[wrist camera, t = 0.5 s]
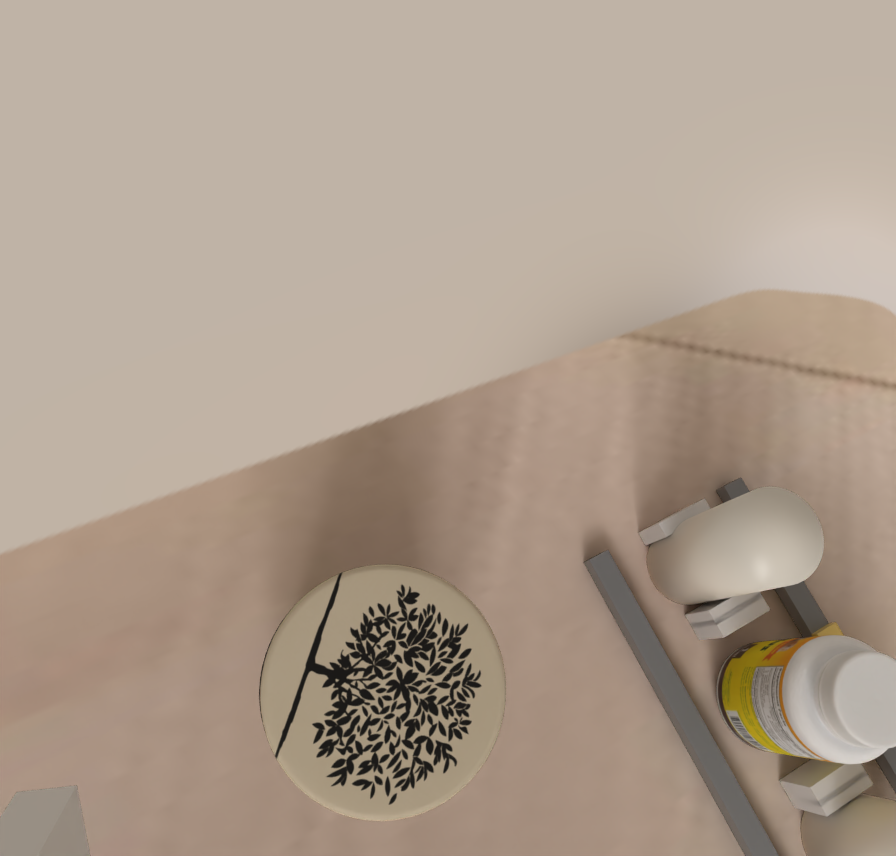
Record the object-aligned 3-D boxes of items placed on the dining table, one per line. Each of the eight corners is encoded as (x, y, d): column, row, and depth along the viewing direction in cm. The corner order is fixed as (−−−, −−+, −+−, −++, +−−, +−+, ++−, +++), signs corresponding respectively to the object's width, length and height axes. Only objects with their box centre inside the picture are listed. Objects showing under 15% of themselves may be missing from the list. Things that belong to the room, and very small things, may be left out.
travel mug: (465, 646, 44) (555, 625, 27) (395, 797, 42) (446, 880, 25) (327, 576, 44) (331, 512, 27) (250, 723, 42) (199, 755, 25)
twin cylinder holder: (943, 831, 45) (1110, 872, 35) (792, 941, 42) (928, 1018, 33) (733, 480, 49) (832, 433, 39) (583, 562, 46) (650, 532, 37)
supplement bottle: (810, 650, 47) (939, 642, 37) (808, 758, 45) (942, 780, 35) (713, 633, 46) (817, 621, 36) (707, 742, 45) (814, 759, 35)
